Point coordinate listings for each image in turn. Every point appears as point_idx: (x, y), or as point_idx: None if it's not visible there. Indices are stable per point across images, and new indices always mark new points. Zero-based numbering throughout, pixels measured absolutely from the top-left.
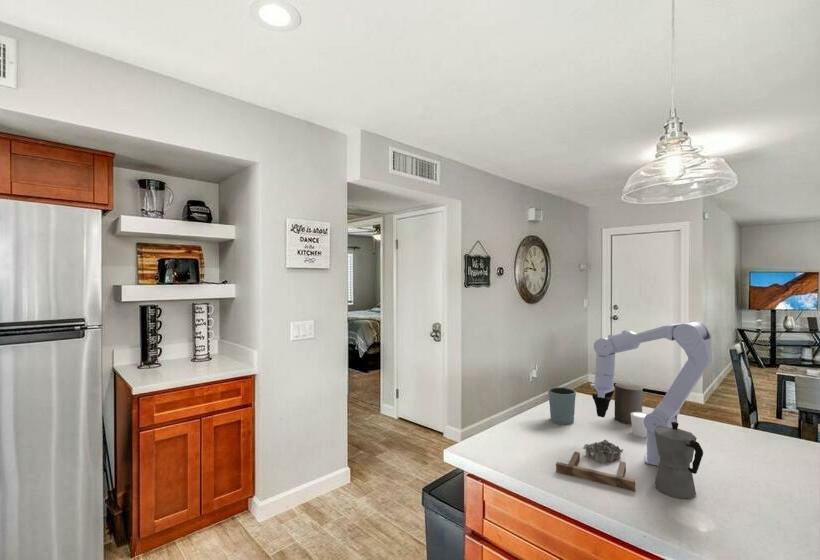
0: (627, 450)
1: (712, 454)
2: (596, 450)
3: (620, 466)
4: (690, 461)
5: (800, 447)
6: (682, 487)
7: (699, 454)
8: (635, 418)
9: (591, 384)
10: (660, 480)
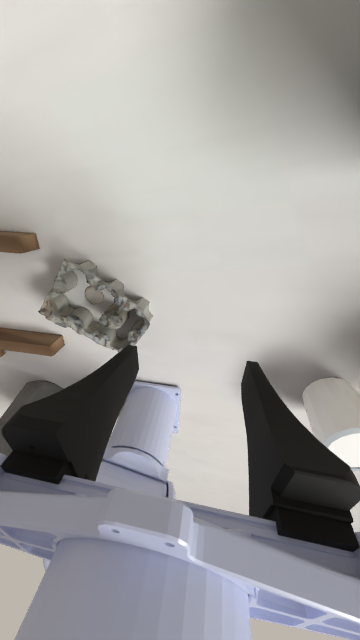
0: (183, 355)
1: (238, 471)
2: (121, 289)
3: (22, 345)
4: None
5: None
6: None
7: None
8: (331, 427)
9: (118, 528)
10: (16, 397)
